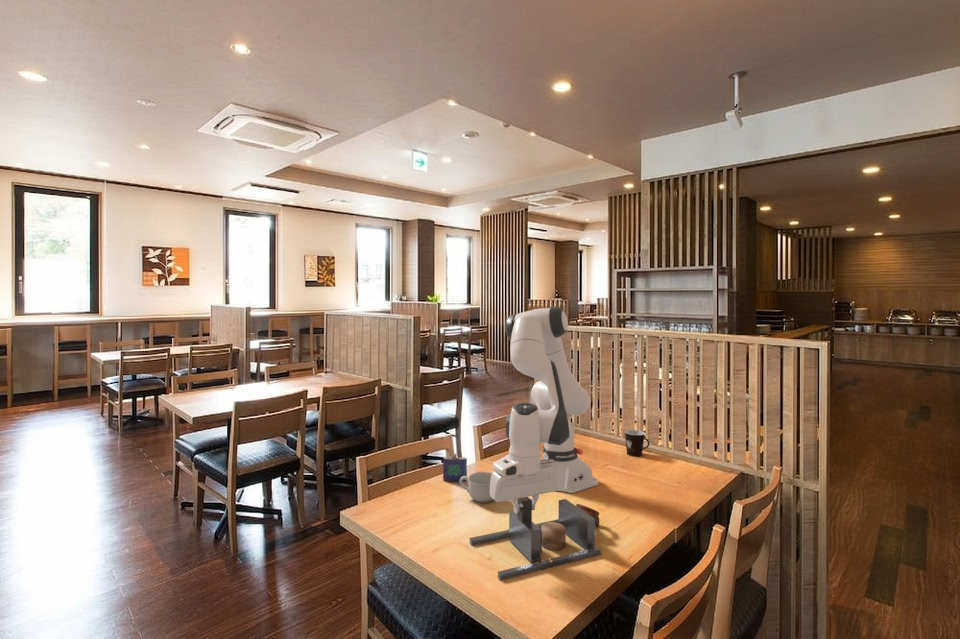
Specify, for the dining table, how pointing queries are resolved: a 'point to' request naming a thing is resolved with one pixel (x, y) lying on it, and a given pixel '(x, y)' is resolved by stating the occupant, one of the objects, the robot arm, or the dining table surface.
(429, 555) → the dining table surface
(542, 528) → the brown short cylinder
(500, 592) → the dining table surface
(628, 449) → the coffee mug
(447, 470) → the flask
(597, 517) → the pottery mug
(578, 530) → the press frame
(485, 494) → the teacup
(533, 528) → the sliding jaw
